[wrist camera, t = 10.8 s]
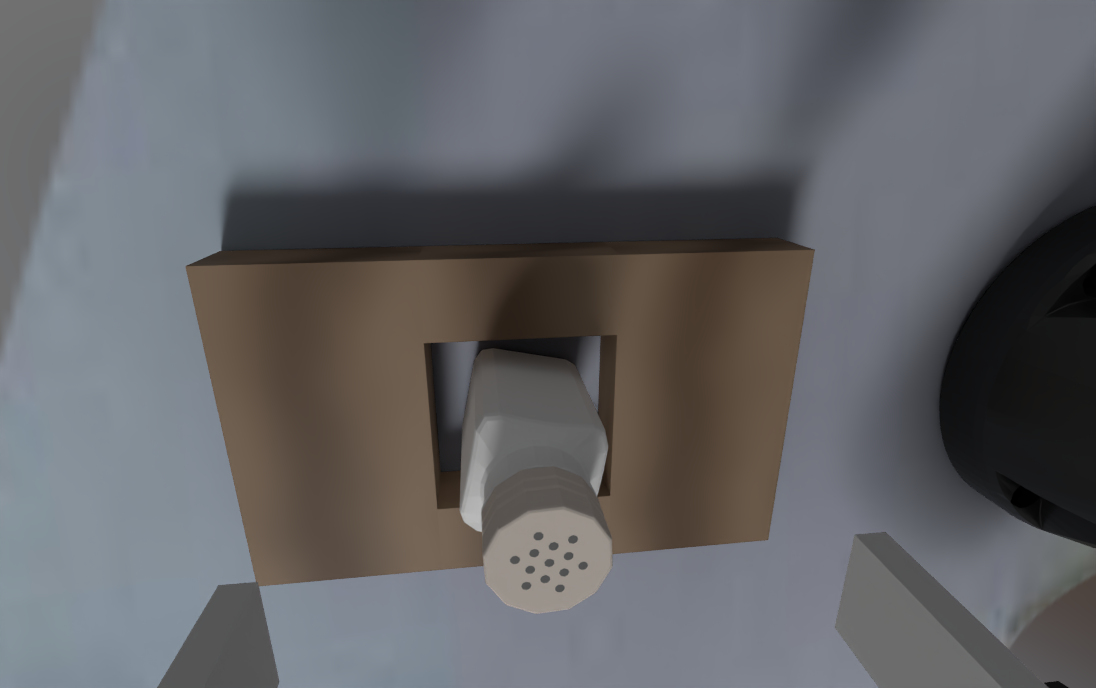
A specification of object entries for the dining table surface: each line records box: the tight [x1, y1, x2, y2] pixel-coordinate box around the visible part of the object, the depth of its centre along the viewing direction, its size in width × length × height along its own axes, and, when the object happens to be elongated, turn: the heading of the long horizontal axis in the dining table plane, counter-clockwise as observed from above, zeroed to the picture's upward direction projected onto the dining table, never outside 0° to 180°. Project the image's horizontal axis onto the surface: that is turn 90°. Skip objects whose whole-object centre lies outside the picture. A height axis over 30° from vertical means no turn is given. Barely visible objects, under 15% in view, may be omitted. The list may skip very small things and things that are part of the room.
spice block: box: [186, 238, 815, 586], centre depth 21 cm, size 20×12×2 cm, turn 90°
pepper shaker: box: [460, 348, 612, 614], centre depth 18 cm, size 4×4×10 cm
